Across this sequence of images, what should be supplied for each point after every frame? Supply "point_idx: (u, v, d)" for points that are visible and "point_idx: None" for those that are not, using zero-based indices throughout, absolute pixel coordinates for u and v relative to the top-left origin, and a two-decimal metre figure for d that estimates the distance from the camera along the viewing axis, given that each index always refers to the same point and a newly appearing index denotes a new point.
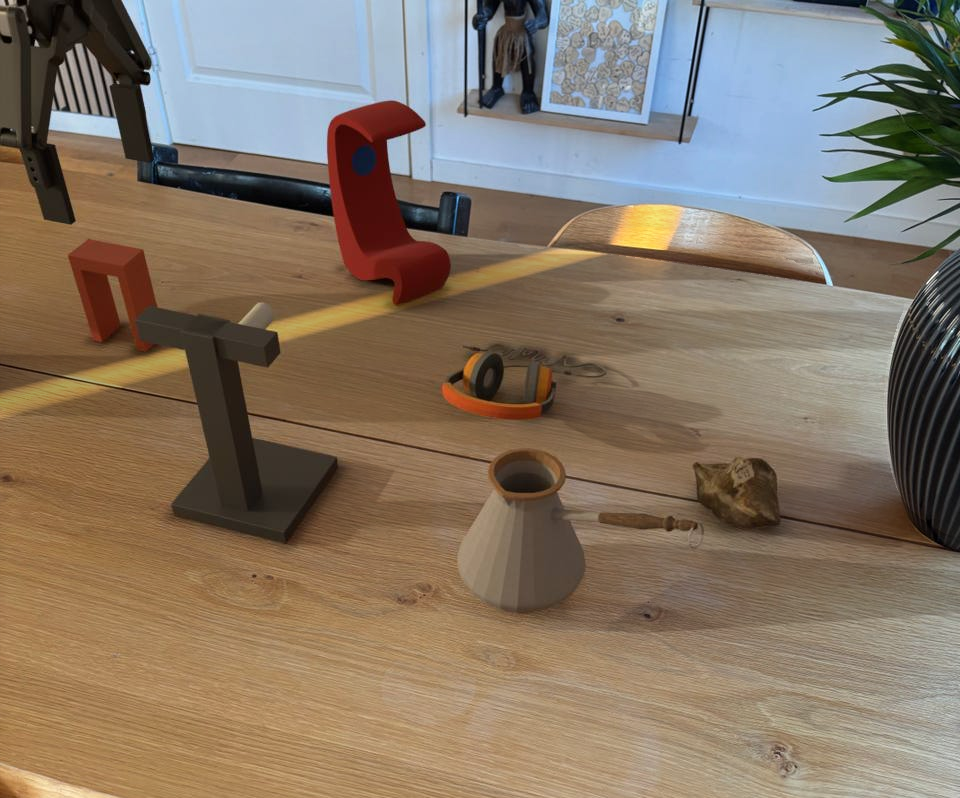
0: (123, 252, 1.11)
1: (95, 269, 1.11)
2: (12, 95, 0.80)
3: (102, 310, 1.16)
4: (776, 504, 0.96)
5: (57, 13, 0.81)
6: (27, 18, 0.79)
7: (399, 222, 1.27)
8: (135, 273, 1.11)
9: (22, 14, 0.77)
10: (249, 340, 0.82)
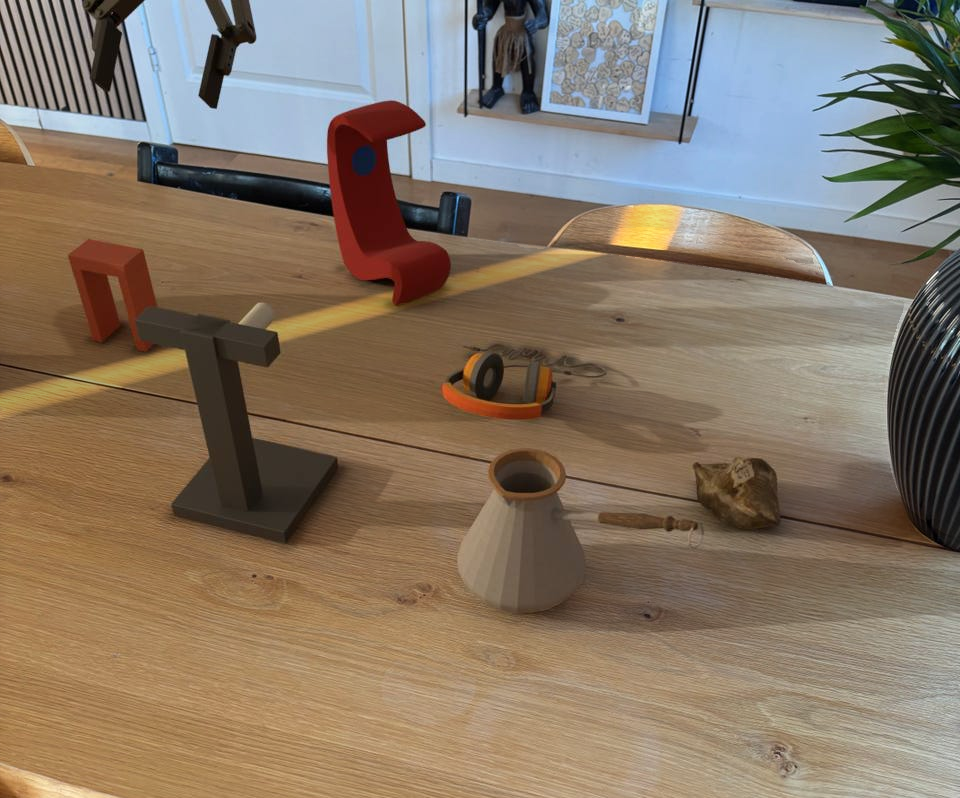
0: (123, 252, 1.11)
1: (95, 269, 1.11)
2: (247, 3, 1.09)
3: (102, 310, 1.16)
4: (776, 504, 0.96)
5: None
6: None
7: (399, 222, 1.27)
8: (135, 273, 1.11)
9: None
10: (249, 340, 0.82)
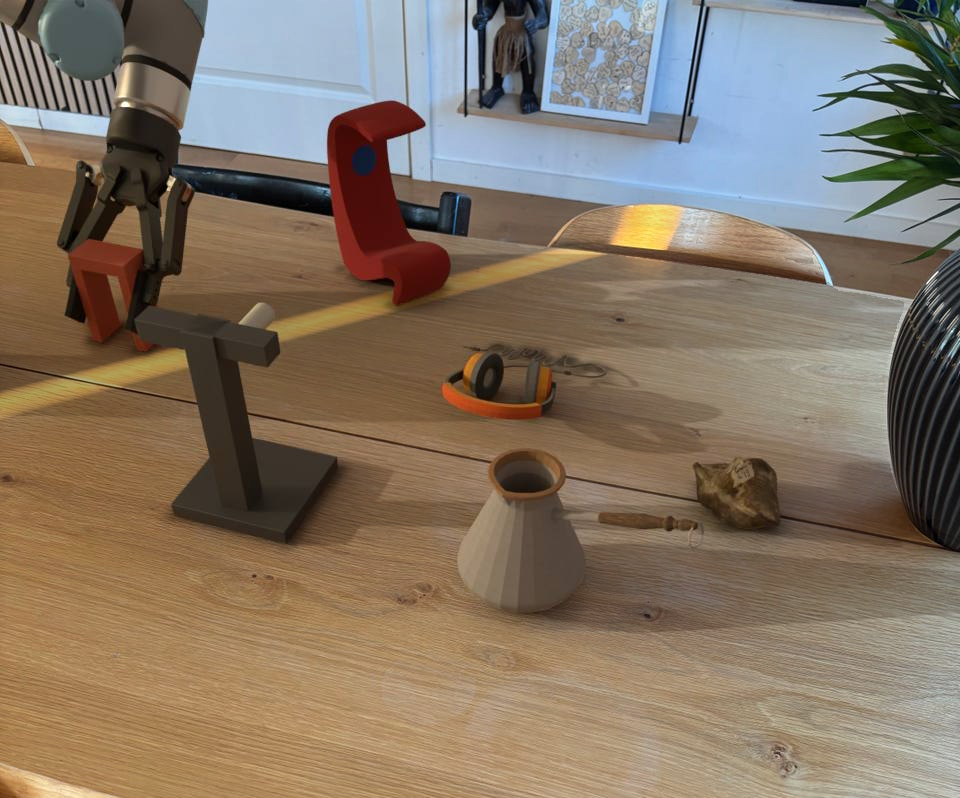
0: (123, 252, 1.11)
1: (95, 269, 1.11)
2: (180, 239, 1.12)
3: (102, 310, 1.17)
4: (776, 504, 0.96)
5: None
6: None
7: (399, 222, 1.27)
8: (135, 273, 1.11)
9: None
10: (249, 340, 0.82)
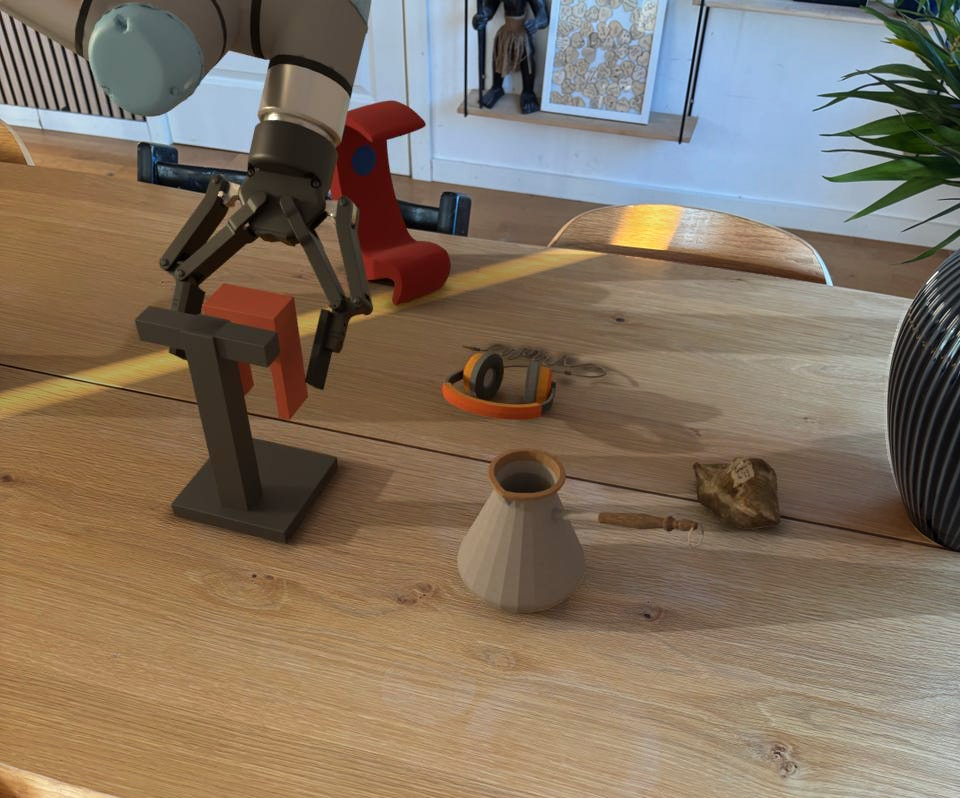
0: (270, 300, 0.89)
1: (235, 322, 0.89)
2: (362, 269, 0.90)
3: None
4: (776, 504, 0.96)
5: None
6: None
7: (399, 222, 1.27)
8: (284, 326, 0.90)
9: None
10: (249, 340, 0.82)
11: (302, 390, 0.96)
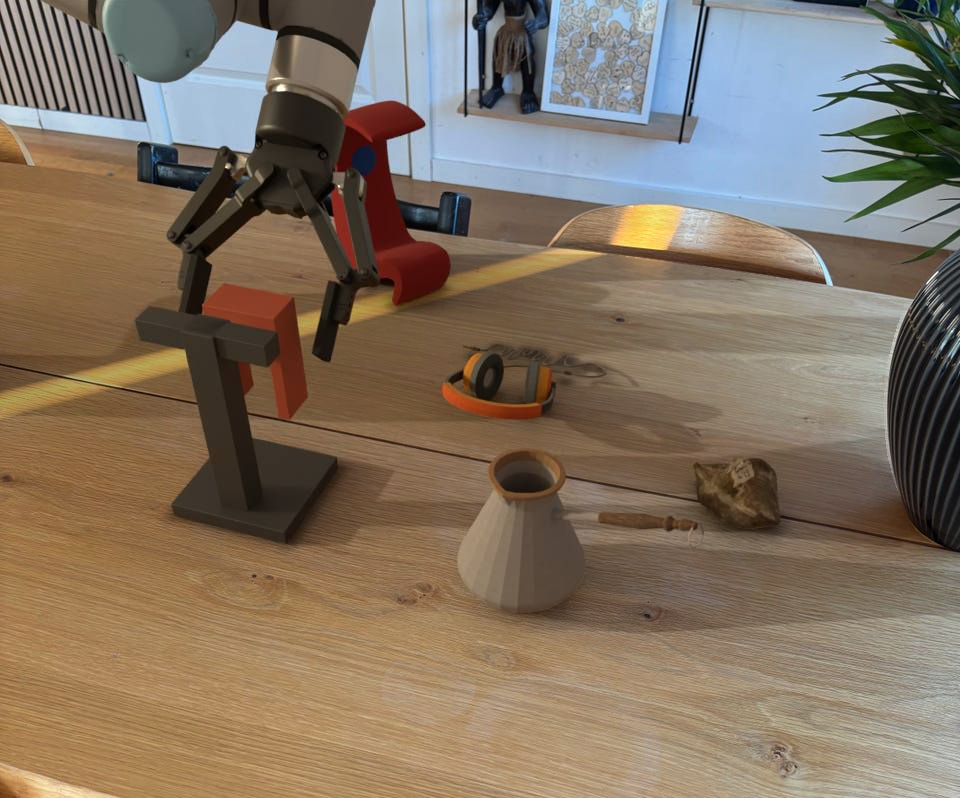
0: (270, 300, 0.89)
1: (235, 322, 0.89)
2: (369, 241, 0.90)
3: None
4: (776, 504, 0.96)
5: None
6: None
7: (399, 222, 1.27)
8: (284, 326, 0.90)
9: None
10: (249, 340, 0.82)
11: (302, 390, 0.96)
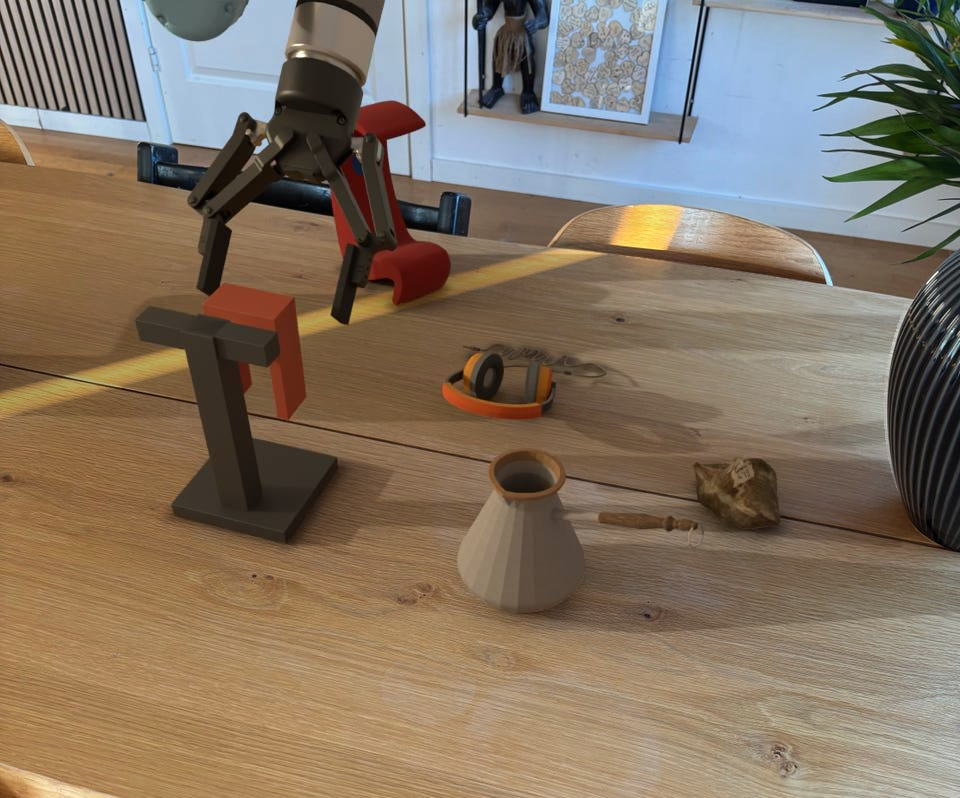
0: (270, 301, 0.89)
1: (235, 322, 0.89)
2: (387, 205, 0.92)
3: None
4: (776, 504, 0.96)
5: None
6: (356, 151, 0.92)
7: (399, 222, 1.27)
8: (285, 327, 0.90)
9: None
10: (249, 340, 0.82)
11: (301, 390, 0.96)
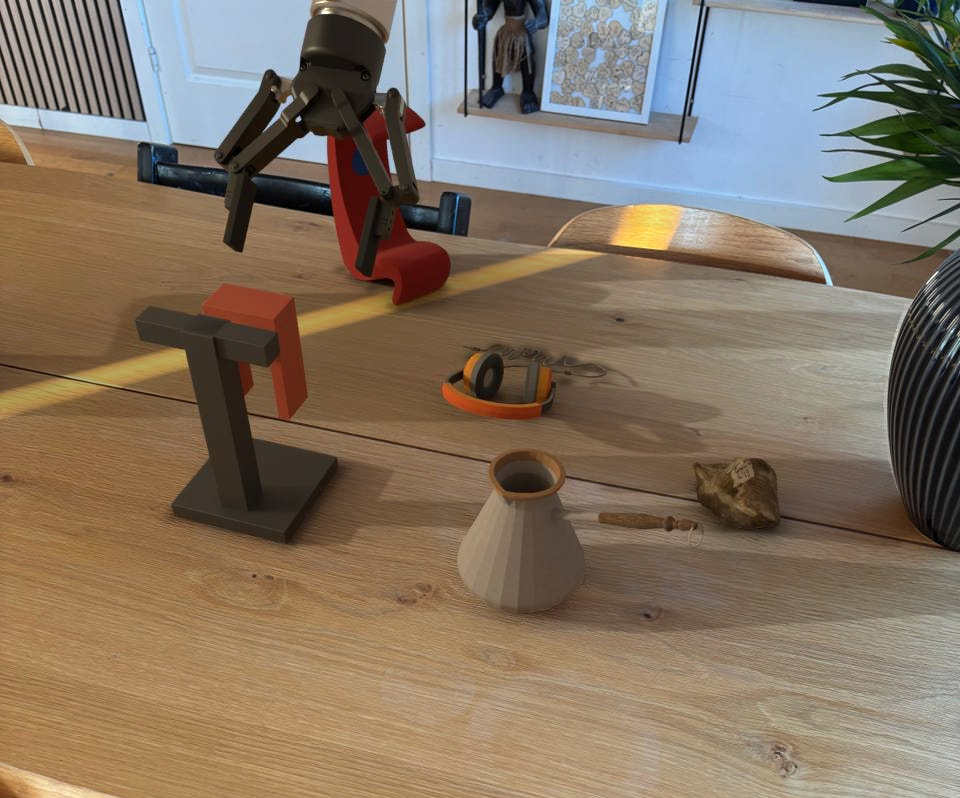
0: (270, 300, 0.89)
1: (235, 322, 0.89)
2: (410, 159, 0.94)
3: None
4: (776, 504, 0.96)
5: None
6: (379, 107, 0.94)
7: (399, 222, 1.27)
8: (284, 326, 0.90)
9: None
10: (249, 340, 0.82)
11: (302, 389, 0.96)
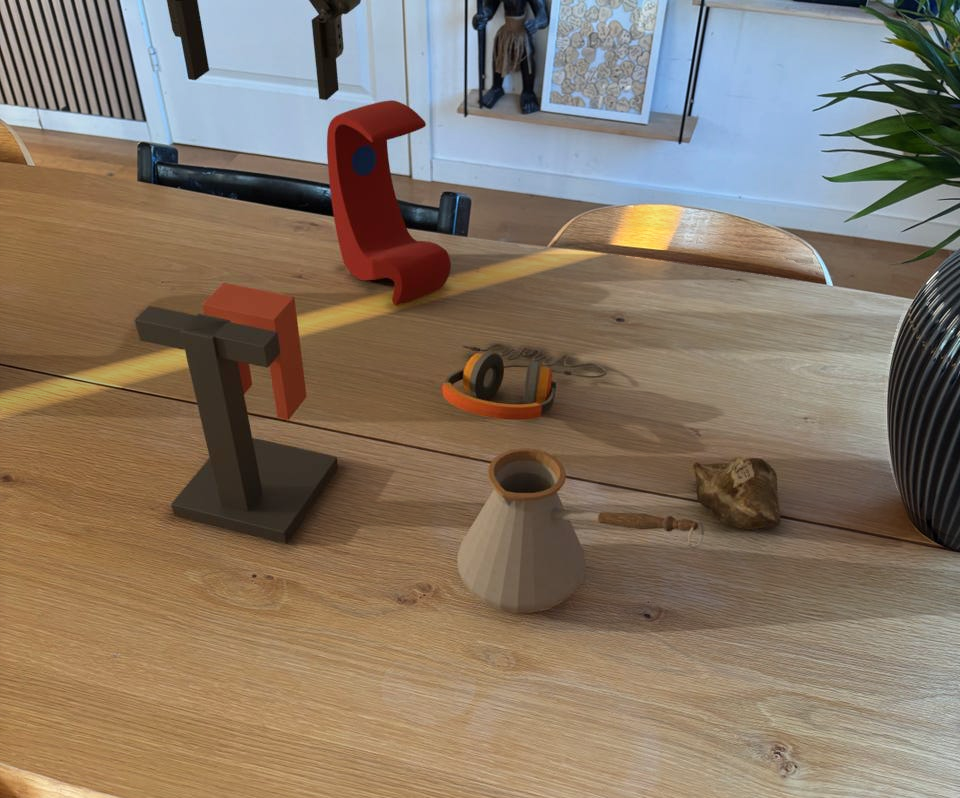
0: (270, 301, 0.89)
1: (235, 322, 0.89)
2: None
3: None
4: (776, 504, 0.96)
5: None
6: None
7: (399, 222, 1.27)
8: (285, 327, 0.90)
9: None
10: (249, 340, 0.82)
11: (301, 390, 0.96)
